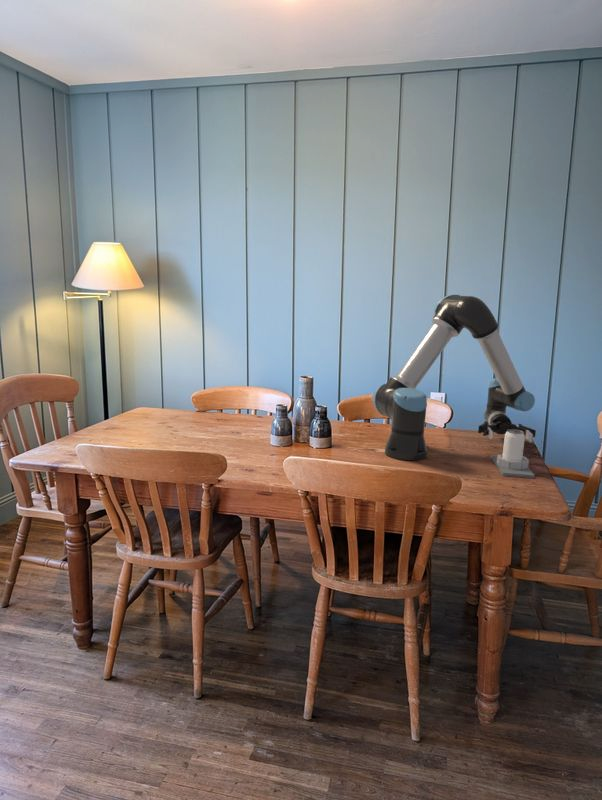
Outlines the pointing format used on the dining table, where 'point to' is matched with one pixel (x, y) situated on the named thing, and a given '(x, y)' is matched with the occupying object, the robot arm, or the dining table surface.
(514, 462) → the socket plate
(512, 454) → the can
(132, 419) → the dining table surface
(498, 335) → the robot arm
